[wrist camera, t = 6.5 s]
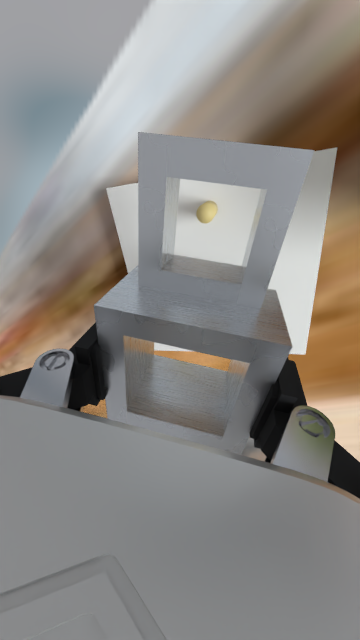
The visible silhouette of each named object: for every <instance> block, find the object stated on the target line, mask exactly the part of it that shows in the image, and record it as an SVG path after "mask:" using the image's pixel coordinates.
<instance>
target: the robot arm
mask: <svg viewBox="0 0 360 640" xmlns="http://www.w3.org/2000/svg"><path fill="white" fill-rule="evenodd" d="M105 397H106V388H105V380H104V372H103V363H102V355H101V347H100V344H99V343H98V335H97V327H96V322H95V324H94V325H93V326H92V327H91V328H90V329H89V330H88V331H87V332H86V333H85V334H84V335H83V336H82V337H81V338H80V339H79V340H78V341H77V342H76V343H75V344H74V345H73V346H72V348H71V349H70V350H66V349H53V350H50V351H47V352H45V353H43V354H42V355H40V356H39V357H38V358H37V360H36V361H35V363H34V366H33V367H32V368H29V369H25V370H22V371H18V372H15V373H11V374H8V375H5V376H1V377H0V640H360V462H359V461H358V460H356V459H355V458H354V457H353V456H352V455H351V454H350V453H348V452H347V451H346V450H345V449H344V448H343V447H342V446H340V445H339V444H338V443H337V442H336V441H335V440H334V439H335V429H334V427H333V424H332V423H331V422H330V420H329V419H328V418H327V417H326V416H325V415H324V414H323V413H321V412H320V411H318V410H317V409H315V408H312V407H310V406H307V403H306V399H305V396H304V392H303V389H302V385H301V381H300V378H299V374H298V371H297V367H296V364H295V362H294V361H291V360H288V357H287V359H286V361H285V363H284V366H283V368H282V370H281V372H280V374H279V376H278V378H277V380H276V382H275V384H272V385H271V388H270V390H269V392H268V394H267V396H266V398H265V400H264V403H263V405H262V407H261V409H260V411H259V413H258V416H257V418H256V420H255V422H254V424H253V426H252V428H251V431H250V436H249V439H248V441H247V443H246V445H245V447H244V449H243V451H242V453H241V455H239V454H236V453H232V452H228V451H225V450H221V449H218V448H214V447H210V446H207V445H203V444H199V443H196V442H192V441H188V440H185V439H181V438H177V437H174V436H170V435H166V434H163V433H159V432H155V431H151V430H148V429H144V428H140V427H136V426H133V425H129V424H125V423H122V422H118V421H114V420H110V419H106V418H103V417H99V416H95V415H91V414H87V413H84V412H83V410H84V406H86V405H88V404H92V405H96V406H97V405H98V403H99V401H100V400H101V399H102V400H104V399H105Z"/></svg>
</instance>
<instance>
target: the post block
mask: <svg viewBox="0 0 360 640" xmlns="http://www.w3.org/2000/svg"><path fill="white" fill-rule="evenodd" d="M336 153H337V148H331V149H325V150H320V151H314V153H313V156H312V159H311V162H310V165H309V168H308V171H307V174H306V177H305V180H304V183H303V186H302V188H301V191H300V194H299V197H298V200H297V203H296V206H295V209H294V212H293V215H292V218H291V221H290V224H289V227H288V230H287V233H286V236H285V238H284V241H283V244H282V247H281V250H280V253H279V256H278V259H277V262H276V265H275V268H274V271H273V274H272V277H271V280H270V283H269V286H268V289H273V290H276V292H277V295H278V299H279V302H280V305H281V309H282V312H283V316H284V319H285V322H286V326H287V329H288V333H289V336H290V340H291V343H292V346H293V347H292V349H291V351H290V353H289V354H305V353H306V347H307V340H308V334H309V327H310V321H311V314H312V308H313V302H314V295H315V289H316V282H317V276H318V269H319V263H320V256H321V250H322V243H323V237H324V231H325V224H326V218H327V211H328V205H329V198H330V192H331V185H332V179H333V172H334V166H335V160H336ZM106 190H107V194H108V198H109V202H110V206H111V209H112V213H113V217H114V221H115V225H116V229H117V233H118V236H119V240H120V244H121V248H122V252H123V256H124V259H125V263H126V267H127V271H128V274H129V273H130V272H131V271H132V270H133V269H134V268H135V267H136V266H137V265H138V183H134V184H128V185H122V186H117V187H111V188H106ZM260 192H261V189H258V188H250V187H242V186H234V185H226V184H218V183H211V182H203V181H195V180H187V179H180V188H179V200H178V211H177V223H176V235H175V247H174V255H180V256H186V257H191V258H197V259H203V260H209V261H215V262H221V263H227V264H233V265H238V266H242V262H243V258H244V254H245V251H246V247H247V243H248V239H249V235H250V231H251V227H252V223H253V219H254V215H255V212H256V208H257V204H258V200H259V196H260ZM154 350H163V351H192V350H187V349H183V348H178V347H174V346H169V345H165V344H160V343H156V342H154Z"/></svg>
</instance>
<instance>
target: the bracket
mask: <svg viewBox="0 0 360 640" xmlns="http://www.w3.org/2000/svg"><path fill="white" fill-rule="evenodd" d="M313 153H314V150H307V149H297V148H288V147H278V146H268V145H259V144H249V143H239V142H230V141H220V140H211V139H201V138H191V137H182V136H172V135H162V134H153V133H143V132H138V265H137V266H136V267H135V268H134V269H133V270H132V271H131V272H130V273H129V274H127V275H126V276H125V277H124V278H123V279H122V280H121V281H120V282H119V283H118V284H117V285H115V286H114V287H113V288H112V289H111V290H110V291H109V292H108V293H107V294H106V295H104V296H103V297H102V298H101V299H100V300H99V301H98V302H97V303H96V304H95V305H94V311H95V319H96V327H97V335H98V343H99V344H100V347H101V355H102V363H103V372H104V380H105V388H106V397H105V400H106V408H107V416H108V419H110V420H114V421H118V422H122V423H125V424H129V425H133V426H136V427H140V428H144V429H148V430H151V431H155V432H159V433H163V434H166V435H170V436H174V437H177V438H181V439H185V440H188V441H192V442H196V443H199V444H203V445H207V446H210V447H214V448H218V449H221V450H225V451H228V452H232V453H236V454H239V455H241V453H242V451H243V449H244V447H245V445H246V443H247V441H248V439H249V436H250V431H251V428H252V426H253V424H254V422H255V420H256V418H257V416H258V413H259V411H260V409H261V407H262V405H263V403H264V400H265V398H266V396H267V394H268V392H269V390H270V388H271V385H272V384H275V382H276V380H277V378H278V376H279V374H280V372H281V370H282V368H283V366H284V363H285V361H286V359H287V357H288V355H289V353H290V351H291V349H292V347H293V346H292V343H291V340H290V336H289V333H288V329H287V326H286V322H285V319H284V316H283V312H282V309H281V305H280V302H279V299H278V295H277V292H276V290H273V289H268V286H269V283H270V280H271V277H272V274H273V271H274V268H275V265H276V262H277V259H278V256H279V253H280V250H281V247H282V244H283V241H284V238H285V236H286V233H287V230H288V227H289V224H290V221H291V218H292V215H293V212H294V209H295V206H296V203H297V200H298V197H299V194H300V191H301V188H302V186H303V183H304V180H305V177H306V174H307V171H308V168H309V165H310V162H311V159H312V156H313ZM180 179H187V180H195V181H203V182H211V183H218V184H226V185H234V186H242V187H250V188H258V189H261V192H260V196H259V200H258V204H257V208H256V212H255V215H254V219H253V223H252V227H251V231H250V235H249V239H248V243H247V247H246V251H245V254H244V258H243V262H242V266H238V265H233V264H227V263H221V262H215V261H209V260H203V259H197V258H191V257H186V256H180V255H174V247H175V235H176V223H177V211H178V200H179V188H180ZM154 342H156V343H160V344H165V345H169V346H174V347H178V348H183V349H187V350H192V351H196V352H201V353H205V354H210V355H214V356H219V357H223V358H228V359H231V361H230V364H229V368H228V371H223V370H219V369H214V368H210V367H206V366H201V365H197V364H192V363H188V362H184V361H179V360H175V359H171V358H166V357H162V356H157V355H154Z"/></svg>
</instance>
